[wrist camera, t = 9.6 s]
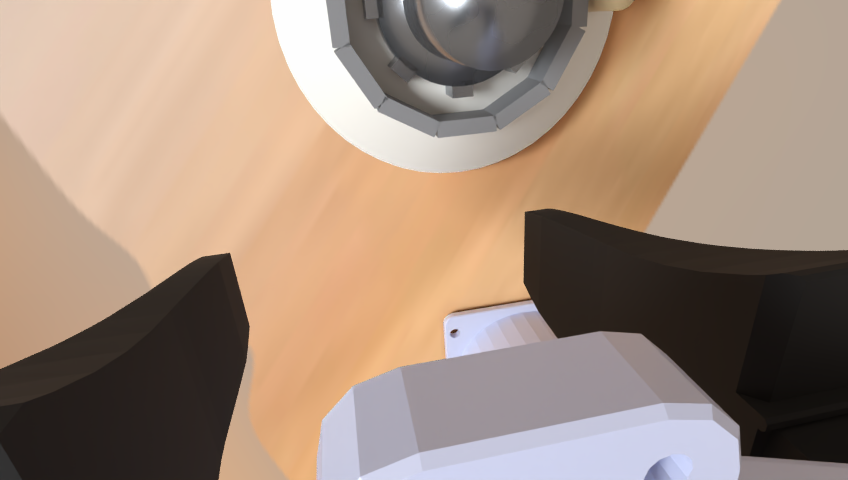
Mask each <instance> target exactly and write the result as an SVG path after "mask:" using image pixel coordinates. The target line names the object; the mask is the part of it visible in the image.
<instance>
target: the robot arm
mask: <svg viewBox="0 0 848 480" xmlns="http://www.w3.org/2000/svg"><path fill="white" fill-rule="evenodd" d="M524 284H525V286H526V288H527V290H528V293H529V295H530V297H531V299H532V300H529V301H523V302H517V303H511V304H505V305H499V306H492V307H486V308H480V309H474V310H468V311H462V312H456V313H451V314H449V315H447V316H446V317H445V319H444V322H443V325H444V341H445V356H446V359H442V360H436V361H431V362H425V363H419V364H414V365H408V366H403V367H399V368H396V369H394V370H391V371H389V372H386V373H384V374H381V375H379V376H376V377H374V378H372V379H369V380H367V381H364V382H362V383H359V384H357V385H354V386H352V388H351V389H350V390H349V391H348V392H347V393H346V394H345V395H344V396H343V398H342V399H341V400H340V401H339V402H338V403H337V404H336V405H335V406H334V407H333V409H332V410H331V411H330V412H329V413H328V414H327V415H326V416H325V417H324V418H323V420H322V426H321V433H320V440H319V447H318V454H317V480H848V250H839V251H787V250H763V249H747V248H736V247H726V246H715V245H707V244H700V243H694V242H688V241H682V240H675V239H670V238H665V237H659V236H655V235H651V234H647V233H643V232H639V231H634V230H630V229H627V228H623V227H619V226H615V225H612V224H608V223H605V222H601V221H598V220H594V219H591V218H587V217H584V216H580V215H577V214H573V213H569V212H565V211H561V210H556V209H542V210H535V211H528V212H525V237H524ZM249 327H250V326H249V322H248V319H247V315H246V311H245V307H244V304H243V300H242V296H241V292H240V289H239V285H238V281H237V277H236V274H235V270H234V266H233V262H232V259H231V255H230V253H226V254H219V255H212V256H205V257H201V258H199V259H197V260H195V261H193V262H192V263H190V264H188V265H187V266H185V267H184V268H182V269H181V270H179V271H178V272H176V273H175V274H173V275H172V276H170V277H169V278H168V279H166V280H165V281H163V282H162V283H160V284H159V285H157V286H156V287H154V288H153V289H152V290H150V291H149V292H147V293H146V294H144V295H143V296H141V297H140V298H138V299H136V300H135V301H133V302H131V303H130V304H128V305H127V306H125V307H124V308H122V309H120V310H119V311H117V312H116V313H114V314H112V315H111V316H109V317H107V318H106V319H104V320H102V321H101V322H99V323H97V324H95V325H93V326H92V327H90V328H88V329H86V330H84V331H83V332H80V333H78V334H76V335H74V336H72V337H71V338H69V339H67V340H65V341H63V342H61V343H59V344H56V345H54V346H52V347H50V348H48V349H45V350H43V351H41V352H39V353H36V354H34V355H32V356H30V357H27V358H25V359H23V360H20V361H18V362H16V363H14V364H11V365H9V366H7V367H4V368H2V369H0V480H218V479H219V471H220V465H221V459H222V454H223V450H224V445H225V441H226V437H227V433H228V429H229V425H230V422H231V418H232V414H233V410H234V407H235V403H236V399H237V395H238V391H239V388H240V384H241V380H242V376H243V372H244V368H245V364H246V359H247V350H248V339H249ZM454 329H458V331H457V332H456V333H450V332H451V331H452V330H454Z"/></svg>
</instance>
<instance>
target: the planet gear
mask: <svg viewBox="0 0 848 480" xmlns="http://www.w3.org/2000/svg"><path fill="white" fill-rule="evenodd" d="M563 3H564V0H362V5H363V14H364V19H375V18H376V21H377V24H378V28H379V31H380V33H381V35H382V38H383V40H384V42H385V43H386V45H387V47H388V49H389V50H390V51H391V53H392V54H393V55H394V58H393V59H392V60H391V61H390V63H389V64H388V65H387V66H388V67H389V68H390V69H391V70H393V71H394V72H395V73H396V74H397V75H398V76H399V77H400V78H402V79H403V80H404V81H405V82H407V83H409V81H410V80H411V79H412V78H413V76H414V75H415V74H416V75H418V76H420V77H421V78H423V79H425V80H428V81H430V82H432V83H436V84H439V85H443V86H445V89H446V95H448V96H450V97H451V98H463V97H473V96H474V94H473V85H474V84H477V83H480V82H483V81H485V80H487V79H489V78H492V77H493V76H495V75H496V74H498V73H500V72H501V71H502V70H505V71H508V72H512V73H517V71H518V70H519V69H520V68H521V67H522V66H523V64H524V63H525V62H526V61H527V60H528V59H529V58H530V57H531V56H533V55H534V54H535V53H536V52H537V51H538V50H539V49H540V48H541V47H542V46H543V45H544V44H545V43H546V41H547V40H548V39H549V37H550V36H551V34H552V32H553V31H554V29H555V27H556V25H557V22H558V20H559V17H560V14H561V11H562V8H563Z"/></svg>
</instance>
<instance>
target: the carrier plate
mask: <svg viewBox="0 0 848 480" xmlns="http://www.w3.org/2000/svg"><path fill="white" fill-rule="evenodd" d="M633 1H634V0H564V3H563V8H562V11H561V14H560V17H559V20H558V22H557V25H556V27H555V29H554V31H553V32H552V34H551V36H550V37H549V39H548V40H547V41H546V43H545V44H544V45H543V46H542V47H541V48H540V49H539V50H538V51H537V52H536V53H535V54H534V55H533V56H531V57H530V58H529V59H528V60H527V61H526V62H525V63H524V64H523V66H522V67H521V68H520V69H519V70H518V71H517V73H512V72H508V71H505V70H502V71H501V72H500V73H498V74H496V75H495V76H493V77H492V78H489V79H487V80H485V81H483V82H480V83H477V84H474V85H473V94H474V96H473V97H463V98H451V97H450V96H448V95H446V89H445V86H443V85H439V84H436V83H432V82H430V81H428V80H425V79H423V78H421V77H420V76H418V75H416V74H415V75H414V76H413V78H412V79H411V80H410V81H409V83H407V82H405V81H404V80H403V79H402V78H400V77H399V76H398V75H397V74H396V73H395V72H394V71H393V70H391V69H390V68H389V67H388V66H387V65H388V64H389V63H390V61H391V60H392V59H393V58H394V55H393V54H392V53H391V51H390V50H389V49H388V47H387V45H386V43H385V42H384V40H383V38H382V35H381V33H380V31H379V28H378V24H377V21H376V18H375V19H364V14H363V5H362V0H271V6H272V14H273V19H274V23H275V27H276V31H277V35H278V39H279V43H280V45H281V48H282V51H283V53H284V56H285V59H286V61H287V64H288V66H289V68H290V70H291V72H292V74H293V76H294V78H295V80H296V82H297V84H298V86H299V88H300V89H301V91H302V92H303V93H304V95H305V96H306V98H307V99H308V101H309V102H310V104H311V105H312V107H313V108H314V109H315V110H316V111H317V112H318V114H319V115H320V116H321V117H322V118H323V119H324V120H325V121H326V123H327V124H328V125H329V126H330V127H332V128H333V129H334V130H335V131H336V132H337V133H338V134H339V135H341V136H342V137H343V138H344V139H345V140H347V141H348V142H350V143H351V144H353V145H354V146H356V147H357V148H359V149H360V150H361V151H363V152H365V153H367V154H369V155H371V156H373V157H375V158H377V159H379V160H381V161H383V162H386V163H389V164H392V165H395V166H398V167H401V168H405V169H410V170H415V171H420V172H433V173H450V172H462V171H467V170H473V169H478V168H481V167H485V166H488V165H491V164H494V163H497V162H499V161H501V160H504V159H506V158H508V157H510V156H512V155H514V154H516V153H518V152H520V151H521V150H523V149H524V148H526V147H528V146H529V145H531V144H532V143H534V142H535V141H536V140H538V139H539V138H540V137H541V136H543V135H544V134H545V133H546V132H548V131H549V130H550V129H551V128H552V127H553V126H554V125H555V124H556V123H557V122H558V121H559V120H560V119H561V118H562V117H563V116H564V115H565V113H566V112H567V111H568V110H569V108H570V107H571V106H572V105H573V103H574V102H575V101H576V100H577V98H578V97H579V95H580V94H581V92H582V90H583V89H584V87H585V86H586V84H587V82H588V81H589V79H590V77H591V75H592V73H593V71H594V69H595V67H596V65H597V63H598V61H599V58H600V56H601V53H602V50H603V47H604V45H605V42H606V39H607V36H608V32H609V28H610V24H611V20H612V16H613V11H620V10H623V9H626V8H627V7H628V6H630V5H631V4H632V3H633Z"/></svg>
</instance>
